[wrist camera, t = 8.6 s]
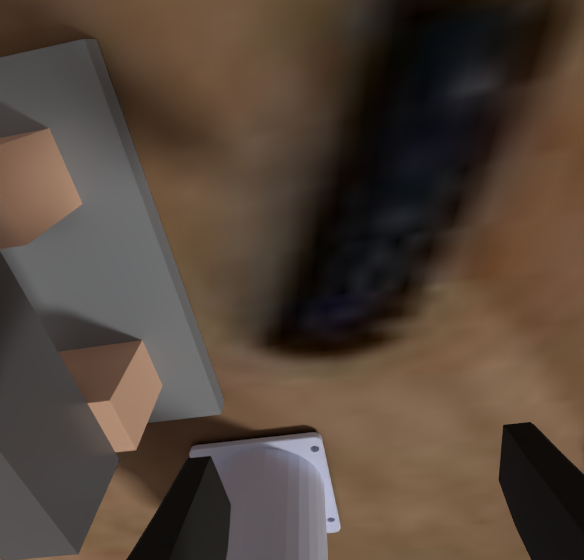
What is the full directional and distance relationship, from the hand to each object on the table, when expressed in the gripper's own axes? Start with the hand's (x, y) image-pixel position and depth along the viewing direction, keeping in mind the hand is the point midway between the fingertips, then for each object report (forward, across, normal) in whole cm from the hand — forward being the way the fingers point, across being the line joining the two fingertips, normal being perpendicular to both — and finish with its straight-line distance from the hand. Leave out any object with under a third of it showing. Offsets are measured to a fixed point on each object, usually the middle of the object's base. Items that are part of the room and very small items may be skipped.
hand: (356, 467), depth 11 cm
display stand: (+10, +12, -2) cm, 16 cm away
